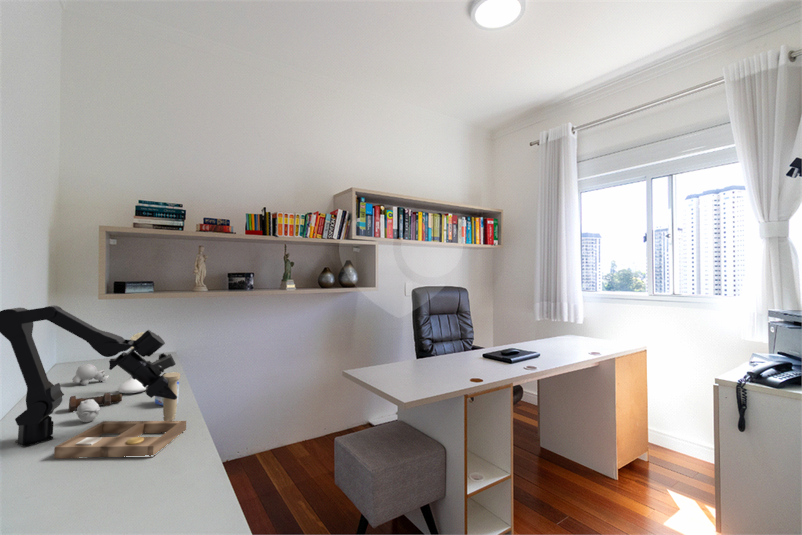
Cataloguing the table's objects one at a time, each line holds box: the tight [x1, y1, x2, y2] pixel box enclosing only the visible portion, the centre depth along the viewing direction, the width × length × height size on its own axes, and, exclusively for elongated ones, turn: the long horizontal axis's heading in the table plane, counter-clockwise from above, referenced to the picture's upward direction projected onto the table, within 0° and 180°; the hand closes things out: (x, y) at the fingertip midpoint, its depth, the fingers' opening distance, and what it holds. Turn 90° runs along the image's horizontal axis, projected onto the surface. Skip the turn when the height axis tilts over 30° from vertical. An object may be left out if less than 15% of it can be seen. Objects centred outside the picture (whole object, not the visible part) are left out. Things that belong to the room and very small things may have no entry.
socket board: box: [53, 420, 187, 460], centre depth 109 cm, size 25×18×3 cm
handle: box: [162, 371, 181, 421], centre depth 125 cm, size 5×6×15 cm
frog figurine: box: [75, 399, 101, 423], centre depth 124 cm, size 6×7×7 cm
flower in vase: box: [117, 331, 147, 394], centre depth 157 cm, size 13×11×25 cm
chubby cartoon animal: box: [72, 363, 109, 386], centre depth 167 cm, size 7×12×8 cm, turn 130°
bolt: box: [68, 392, 123, 413], centre depth 138 cm, size 6×5×15 cm
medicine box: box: [154, 380, 180, 407], centre depth 143 cm, size 8×4×9 cm, turn 62°
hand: (175, 396), depth 126 cm, fingers closed on handle, 5 cm apart
